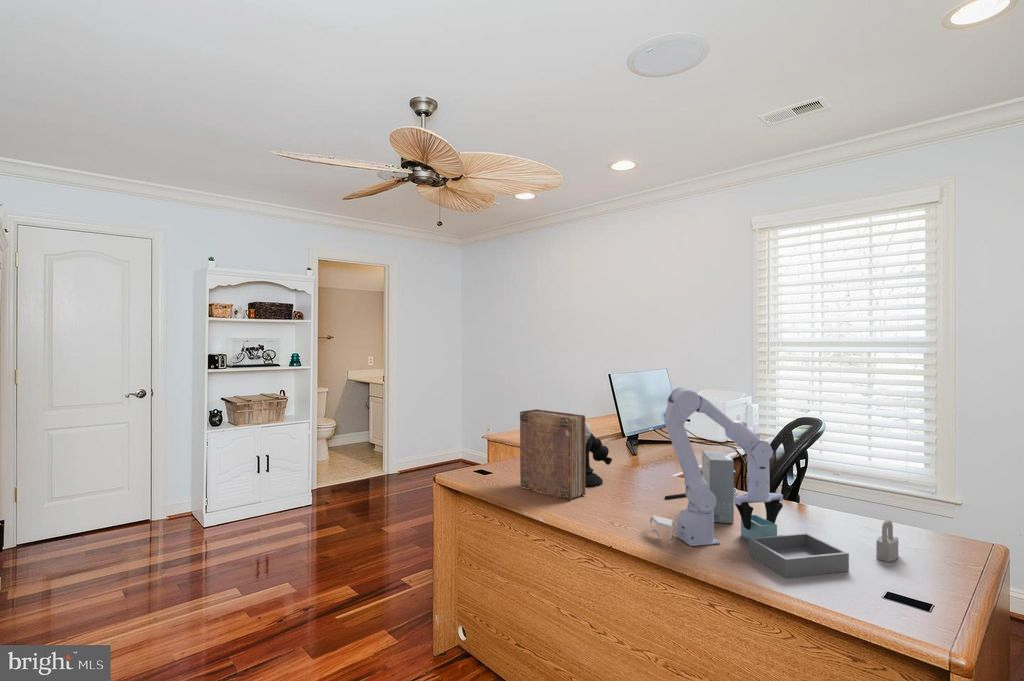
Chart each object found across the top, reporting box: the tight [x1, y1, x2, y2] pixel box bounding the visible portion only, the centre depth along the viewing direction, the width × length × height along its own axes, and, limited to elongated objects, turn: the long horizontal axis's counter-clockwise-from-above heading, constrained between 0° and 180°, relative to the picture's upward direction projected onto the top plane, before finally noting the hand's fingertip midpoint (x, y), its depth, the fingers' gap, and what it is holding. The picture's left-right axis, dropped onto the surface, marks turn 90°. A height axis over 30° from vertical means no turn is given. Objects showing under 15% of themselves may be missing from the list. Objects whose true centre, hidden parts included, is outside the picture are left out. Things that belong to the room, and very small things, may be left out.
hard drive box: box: [701, 450, 735, 524], centre depth 171 cm, size 16×8×20 cm, turn 168°
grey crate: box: [748, 532, 850, 579], centre depth 135 cm, size 18×14×4 cm
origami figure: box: [649, 515, 678, 544], centre depth 154 cm, size 12×8×5 cm
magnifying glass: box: [664, 487, 739, 501], centre depth 194 cm, size 13×31×2 cm, turn 110°
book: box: [519, 409, 586, 502], centre depth 198 cm, size 25×9×30 cm, turn 44°
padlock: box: [875, 519, 899, 563], centre depth 138 cm, size 7×4×10 cm, turn 127°
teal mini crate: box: [740, 513, 778, 541], centre depth 149 cm, size 5×9×6 cm, turn 11°
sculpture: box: [585, 421, 613, 488], centre depth 214 cm, size 15×24×25 cm, turn 130°
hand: (758, 527), depth 149 cm, fingers open, 7 cm apart
